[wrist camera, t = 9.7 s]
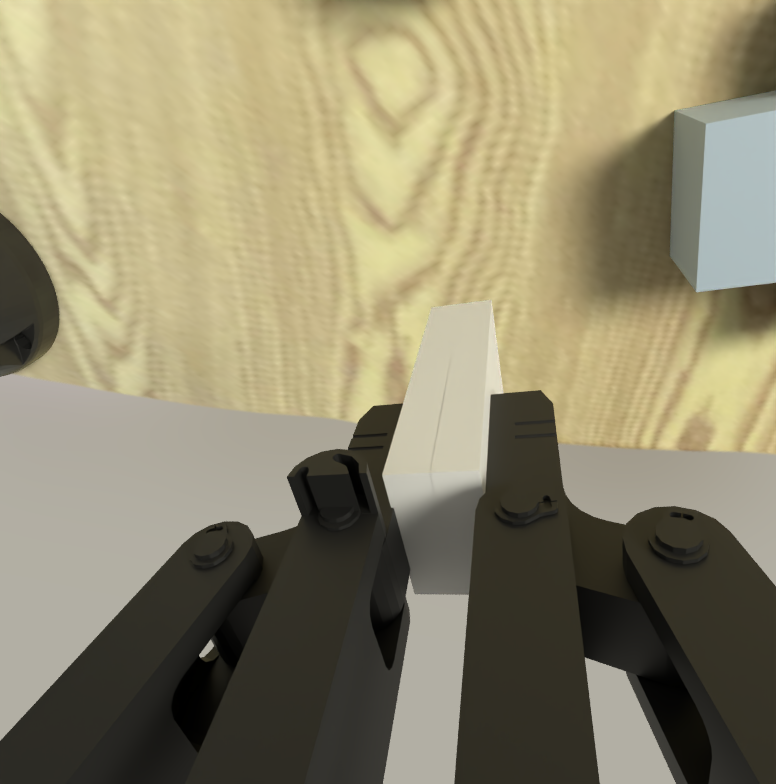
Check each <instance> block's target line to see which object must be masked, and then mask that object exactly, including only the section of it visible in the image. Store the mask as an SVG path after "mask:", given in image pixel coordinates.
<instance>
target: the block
mask: <svg viewBox="0 0 776 784" xmlns="http://www.w3.org/2000/svg"><path fill="white" fill-rule="evenodd" d="M670 257H671V258H672V260H673V261H674V262H675V264H676V265H677V267H678V268H679V269H680V271H681V272H682V273H683V275H684V276H685V278H686V279H687V280H688V282H689V283H690V284H691V286H692V287H693V288H694V290H695V291H696V292H702V291H710V290H719V289H727V288H735V287H744V286H752V285H760V284H769V283H776V90H775V91H770V92H765V93H760V94H755V95H750V96H745V97H740V98H735V99H730V100H725V101H720V102H715V103H710V104H705V105H700V106H695V107H690V108H685V109H680V110H675V111H674V142H673V172H672V203H671V234H670Z"/></svg>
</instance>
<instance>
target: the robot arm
mask: <svg viewBox="0 0 776 784" xmlns="http://www.w3.org/2000/svg"><path fill="white" fill-rule="evenodd" d="M58 327H59V307H58V301H57V296H56V293H55V289H54V286H53V284H52V281H51V279H50V276H49V274H48V272H47V270H46V268H45V266H44V264H43V263H42V261H41V259H40V258H39V256H38V254H37V253H36V251H35V250H34V249H33V247H32V246H31V244H30V243H29V242H28V241H27V239H26V238H25V237H24V236H23V235H22V234H21V232H20V231H19V230H18V229H17V228H16V227H15V226H14V225H13V224H12V223H11V222H10V221H9V220H8V219H7V218H5V217H4V216H3V215H2V214H1V213H0V377H1V376H5V375H9V374H12V373H14V372H17V371H19V370H21V369H23V368H24V367H26V366H27V365H29V364H30V363H32V362H34V361H35V360H37V359H38V358H40V357H41V356H43V355H44V354H45V353H46V352H47V351H48V350H49V349H50V347H51V346H52V344H53V342H54V340H55V338H56V335H57V332H58ZM287 479H288V481H289V484H290V487H291V489H292V492H293V495H294V497H295V500H296V502H297V505H298V508H299V510H300V513H301V515H302V517H301V519H300V521H299V523H298V526H296V527H294V528H291V529H288V530H285V531H282V532H278V533H275V534H271V535H267V536H263V537H260V538H256V539H255V538H254V536H253V534H252V532H251V530H250V529H249V527H248V526H247V525H244V524H242V523H240V522H222V523H218V524H214V525H210V526H208V527H206V528H204V529H203V530H201V531H199V532H197V533H195V534H194V535H193V536H192V537H190V538H189V539H188V540H187V541H186V542H185V543H183V544H182V545H181V547H180V548H179V549H178V550H177V551H176V552H175V553H174V554H173V555H172V556H171V558H169V560H168V561H167V562H166V563H165V564H164V565H163V566H162V567H161V568H160V569H159V570H158V571H157V572H156V574H155V575H154V576H153V577H152V578H151V579H150V580H149V581H148V582H147V583H146V584H145V585H144V586H143V588H142V589H141V590H140V591H139V592H138V593H137V594H136V595H135V596H134V597H133V598H132V599H131V601H130V602H129V603H128V604H127V605H126V606H125V607H124V608H123V609H122V610H121V611H120V612H119V614H118V615H117V616H116V617H115V618H114V619H113V620H112V621H111V622H110V623H109V624H108V625H107V626H106V627H105V629H104V630H103V631H102V632H101V633H100V634H99V635H98V636H97V637H96V638H95V639H94V640H93V642H92V643H91V644H90V645H89V646H88V647H87V648H86V649H85V650H84V651H83V652H82V653H81V655H80V656H79V657H78V658H77V659H76V660H75V661H74V662H73V663H72V664H71V665H70V666H69V667H68V669H67V670H66V671H65V672H64V673H63V674H62V675H61V676H60V677H59V678H58V679H57V680H56V682H55V683H54V684H53V685H52V686H51V687H50V688H49V689H48V690H47V691H46V692H45V693H44V694H43V696H42V697H41V698H40V699H39V700H38V701H37V702H36V703H35V704H34V705H33V706H32V707H31V708H30V710H29V711H28V712H27V713H26V714H25V715H24V716H23V717H22V718H21V719H20V720H19V721H18V722H17V724H16V725H15V726H14V727H13V728H12V729H11V730H10V731H9V732H8V733H7V734H6V735H5V736H4V738H3V739H2V740H1V741H0V784H383V779H384V773H385V767H386V761H387V755H388V749H389V743H390V737H391V731H392V725H393V720H394V713H395V708H396V701H397V695H398V690H399V684H400V678H401V672H402V666H403V660H404V654H405V648H406V642H407V636H408V631H409V624H410V613H409V607H408V603H407V600H406V597H405V596H406V590H407V584H408V579H409V575H410V578H411V582H412V586H413V589H414V593H415V594H463V595H464V594H465V595H466V594H467V595H468V594H469V601H468V614H467V627H466V641H465V653H464V666H463V679H462V692H461V705H460V718H459V731H458V745H457V758H456V770H455V784H600V783H599V774H598V766H597V758H596V750H595V741H594V733H593V724H592V716H591V707H590V699H589V690H588V682H587V673H586V665H585V657H586V658H589V659H592V660H595V661H598V662H600V663H603V664H606V665H609V666H612V667H615V668H618V669H621V670H624V671H626V674H627V676H628V679H629V681H630V683H631V685H632V687H633V690H634V692H635V694H636V696H637V698H638V701H639V703H640V705H641V707H642V709H643V712H644V714H645V716H646V718H647V721H648V723H649V725H650V727H651V729H652V731H653V734H654V736H655V738H656V740H657V742H658V745H659V747H660V749H661V751H662V753H663V756H664V758H665V760H666V762H667V764H668V767H669V769H670V771H671V773H672V775H673V778H674V780H675V782H676V784H776V586H775V585H774V584H773V583H772V581H771V580H770V579H769V578H768V577H767V575H766V574H765V573H764V572H763V571H762V569H761V568H760V567H759V566H758V564H757V563H756V562H755V561H754V560H753V558H752V557H751V556H750V555H749V554H748V552H747V551H746V550H745V549H744V548H743V546H742V545H741V544H740V543H739V541H737V539H736V538H735V537H734V536H733V534H732V533H731V532H730V531H729V530H728V529H727V528H725V527H724V526H723V525H722V524H721V523H719V522H718V521H717V520H716V519H714V518H711V517H710V516H707V515H705V514H703V513H701V512H699V511H696V510H692V509H686V508H681V507H676V506H671V507H654V508H651V509H649V510H646V511H643V512H640V513H638V514H636V515H635V516H634V517H633V518H632V519H631V520H630V521H629V522H628V523H626V525H624V524H619V523H614V522H610V521H606V520H602V519H598V518H596V517H593V516H591V515H589V514H587V513H585V512H583V511H581V510H579V509H578V508H577V507H576V506H574V505H573V504H572V503H571V502H570V500H569V499H568V497H567V496H566V495H565V492H564V488H563V483H562V476H561V467H560V458H559V450H558V442H557V434H556V425H555V417H554V408H553V403H552V402H551V401H550V400H549V399H548V398H547V397H546V396H545V395H544V393H543V392H542V391H541V390H538V391H527V392H515V393H503V386H502V379H501V371H500V363H499V355H498V347H497V339H496V332H495V324H494V316H493V308H492V300H485V301H477V302H469V303H462V304H454V305H446V306H438V307H431V311H430V314H429V318H428V321H427V324H426V328H425V331H424V335H423V338H422V341H421V345H420V348H419V352H418V355H417V358H416V362H415V365H414V369H413V372H412V375H411V379H410V382H409V386H408V389H407V392H406V396H405V399H404V403H403V404H392V405H380V406H373V407H372V408H371V409H370V410H369V411H368V412H367V413H366V414H365V415H364V416H363V417H362V418H361V419H360V420H359V422H358V424H357V427H356V430H355V432H354V434H353V439H351V442H350V445H349V447H348V450H342V449H335V450H329V451H324V452H320V453H318V454H315V455H313V456H311V457H308V458H306V459H305V460H304V461H302V462H301V463H299V464H298V465H297V466H295V467H294V469H293V470H292V471H291V472H290V474H289V475H288V476H287ZM210 640H212V642H213V644H214V647H213V649H212V650H211V651H210V652H209V653H208V654H207V655H206V656H205V657H202V658H200V657H199V654H200V653H201V651H202V650H203V649H204V647H205V646H206V645H207V643H208V642H209V641H210Z"/></svg>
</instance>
